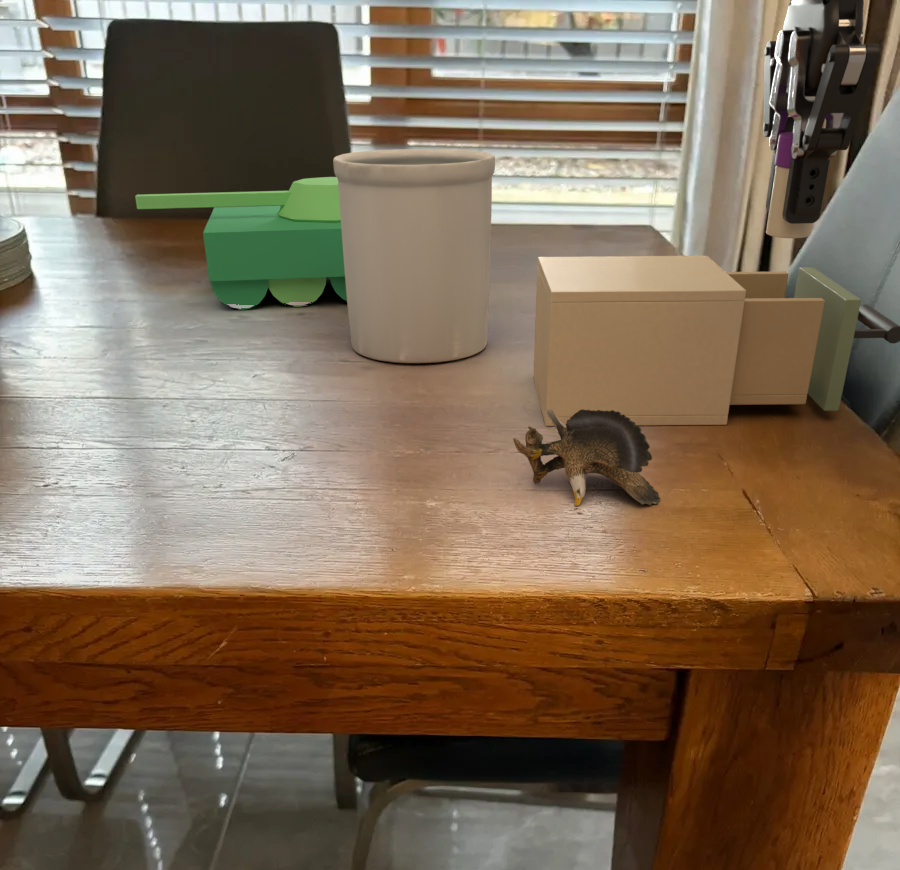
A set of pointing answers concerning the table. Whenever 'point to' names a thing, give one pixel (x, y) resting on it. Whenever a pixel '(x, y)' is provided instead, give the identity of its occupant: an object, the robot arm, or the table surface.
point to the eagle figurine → (594, 452)
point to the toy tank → (269, 240)
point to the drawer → (799, 338)
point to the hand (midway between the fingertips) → (791, 216)
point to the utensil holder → (416, 251)
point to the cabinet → (636, 338)
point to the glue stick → (783, 194)
